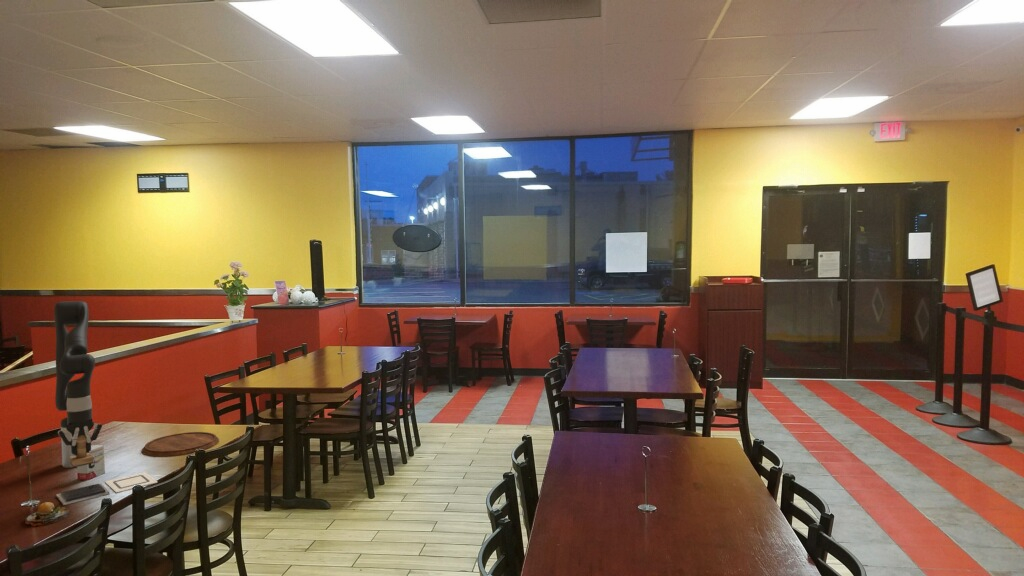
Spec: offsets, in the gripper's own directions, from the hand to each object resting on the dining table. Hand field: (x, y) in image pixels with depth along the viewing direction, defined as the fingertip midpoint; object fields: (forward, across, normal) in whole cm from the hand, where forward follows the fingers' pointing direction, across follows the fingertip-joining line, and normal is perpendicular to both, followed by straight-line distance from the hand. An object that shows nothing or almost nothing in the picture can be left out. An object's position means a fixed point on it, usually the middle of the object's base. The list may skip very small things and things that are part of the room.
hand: (81, 453), depth 222 cm
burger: (+16, +13, +15) cm, 26 cm away
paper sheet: (+16, -16, -1) cm, 23 cm away
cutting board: (+17, -46, -37) cm, 61 cm away
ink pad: (+16, 0, 0) cm, 16 cm away
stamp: (+4, 0, 0) cm, 4 cm away
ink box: (+16, -7, -21) cm, 27 cm away
